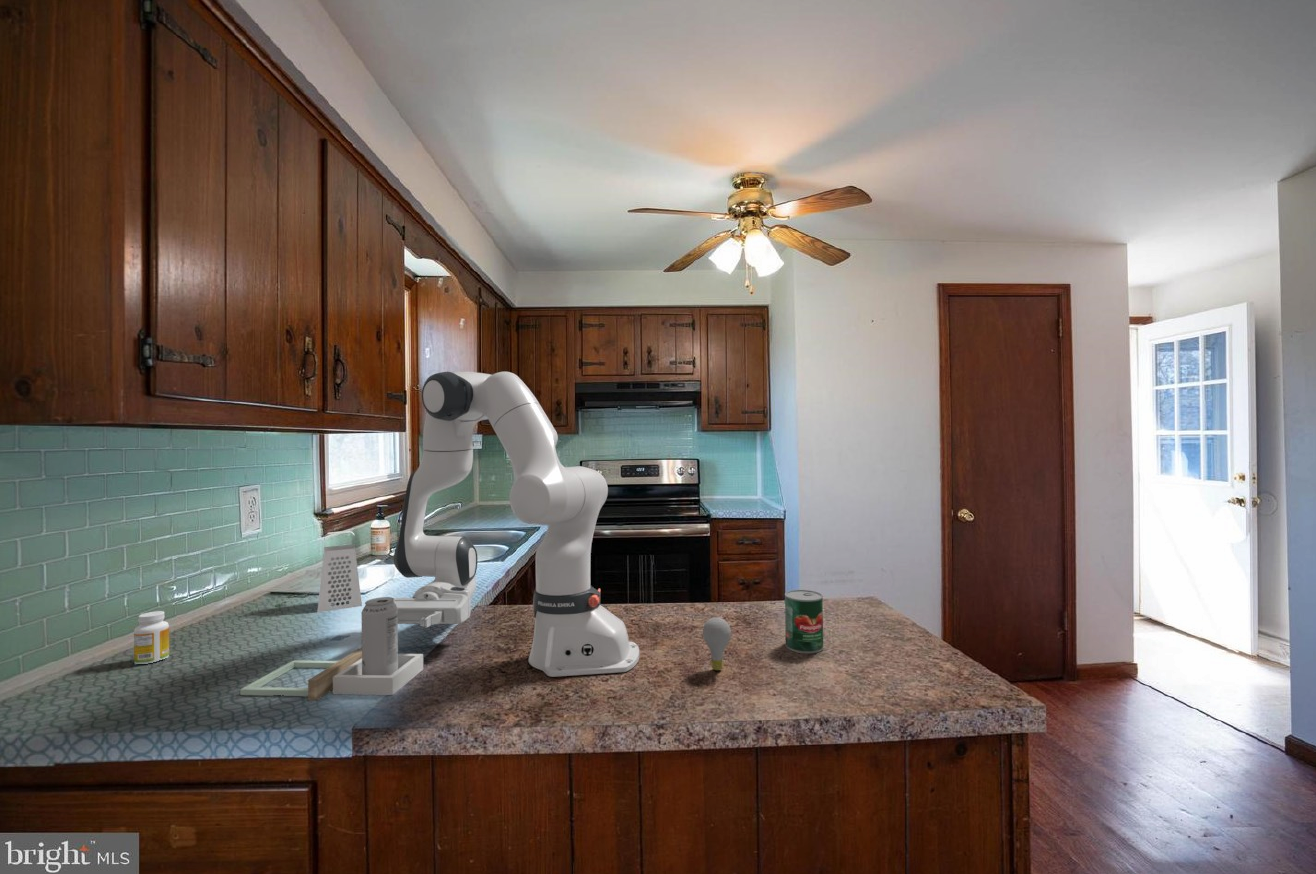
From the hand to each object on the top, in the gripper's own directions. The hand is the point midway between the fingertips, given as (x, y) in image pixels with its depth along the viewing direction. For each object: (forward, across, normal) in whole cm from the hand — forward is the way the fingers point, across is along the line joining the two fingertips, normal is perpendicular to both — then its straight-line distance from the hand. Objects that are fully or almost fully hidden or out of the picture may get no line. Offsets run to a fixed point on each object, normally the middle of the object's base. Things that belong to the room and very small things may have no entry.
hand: (400, 623), depth 110 cm
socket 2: (+7, 0, +8) cm, 11 cm away
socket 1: (+7, -16, +8) cm, 19 cm away
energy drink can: (+7, 0, +9) cm, 11 cm away
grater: (-41, -40, +8) cm, 58 cm away
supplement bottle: (-1, -54, +8) cm, 55 cm away
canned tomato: (-13, +82, +9) cm, 83 cm away
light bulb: (0, +63, +9) cm, 64 cm away
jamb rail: (+7, -8, +8) cm, 13 cm away
